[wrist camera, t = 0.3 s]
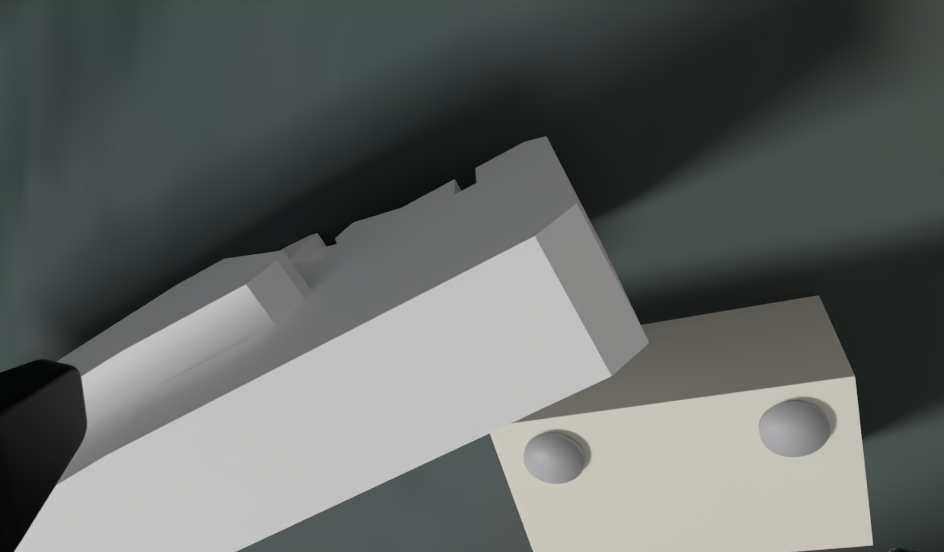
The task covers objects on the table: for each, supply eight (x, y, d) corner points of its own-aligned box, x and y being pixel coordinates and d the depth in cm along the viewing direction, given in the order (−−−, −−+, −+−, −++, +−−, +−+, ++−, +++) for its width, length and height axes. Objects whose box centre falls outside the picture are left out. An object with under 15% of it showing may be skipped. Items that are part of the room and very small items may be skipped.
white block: (836, 443, 24) (875, 551, 20) (551, 476, 26) (540, 577, 23) (816, 291, 21) (857, 381, 18) (506, 343, 24) (486, 431, 20)
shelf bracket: (-80, 389, 29) (-436, 680, 18) (509, 59, 25) (552, 157, 13) (20, 492, 31) (-242, 816, 19) (583, 203, 27) (678, 399, 15)
